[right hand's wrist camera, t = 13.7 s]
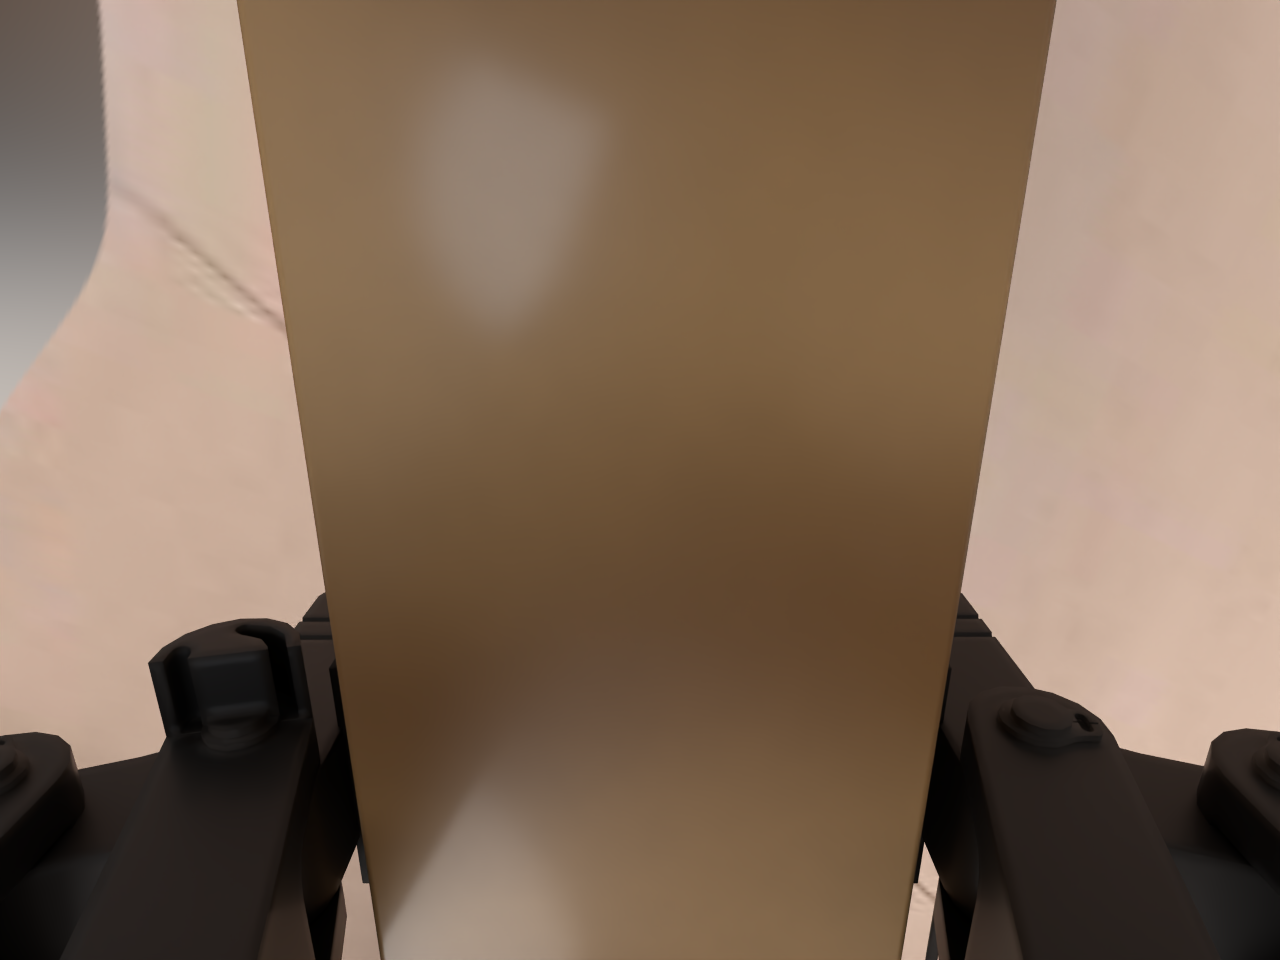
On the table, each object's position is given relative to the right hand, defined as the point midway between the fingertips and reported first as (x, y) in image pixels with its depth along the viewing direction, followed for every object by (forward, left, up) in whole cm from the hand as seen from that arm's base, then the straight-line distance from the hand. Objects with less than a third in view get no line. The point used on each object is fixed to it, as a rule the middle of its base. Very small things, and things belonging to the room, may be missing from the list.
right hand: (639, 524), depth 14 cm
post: (+16, +11, -1) cm, 19 cm away
